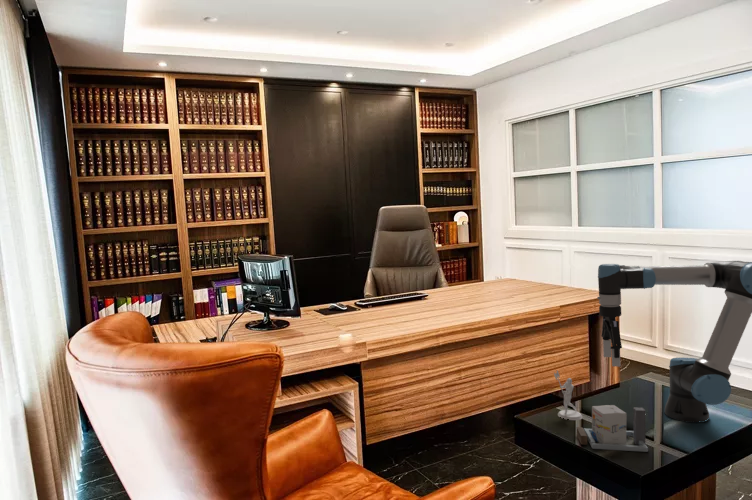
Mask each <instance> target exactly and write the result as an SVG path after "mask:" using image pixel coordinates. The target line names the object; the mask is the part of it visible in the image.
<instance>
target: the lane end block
mask: <svg viewBox="0 0 752 500" xmlns="http://www.w3.org/2000/svg"><path fill="white" fill-rule="evenodd" d="M576 437H577V439H578V440H579V443H580V444H581V445H585V446H586V445H588V439H587V435H586V433H585V431H584V428H583V427H581V426H577V427H576Z"/></svg>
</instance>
